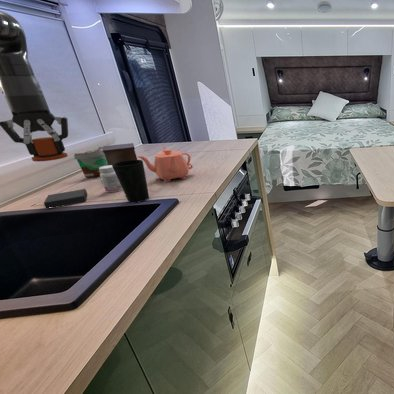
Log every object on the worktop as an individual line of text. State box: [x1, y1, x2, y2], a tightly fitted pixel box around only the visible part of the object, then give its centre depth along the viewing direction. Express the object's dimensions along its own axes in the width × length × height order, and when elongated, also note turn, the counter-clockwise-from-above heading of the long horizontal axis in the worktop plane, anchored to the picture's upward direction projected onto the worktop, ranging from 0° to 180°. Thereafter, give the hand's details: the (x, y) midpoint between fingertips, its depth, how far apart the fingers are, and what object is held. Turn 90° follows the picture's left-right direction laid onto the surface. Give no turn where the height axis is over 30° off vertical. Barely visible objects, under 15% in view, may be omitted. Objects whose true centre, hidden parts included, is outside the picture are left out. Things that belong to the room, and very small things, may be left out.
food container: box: [73, 146, 108, 179], centre depth 115 cm, size 12×6×10 cm, turn 179°
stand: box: [43, 188, 88, 209], centre depth 91 cm, size 9×8×2 cm
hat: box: [31, 136, 69, 163], centre depth 85 cm, size 8×8×6 cm
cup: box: [112, 159, 150, 203], centre depth 90 cm, size 8×8×12 cm
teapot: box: [136, 147, 194, 183], centre depth 111 cm, size 14×14×11 cm
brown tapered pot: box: [102, 142, 138, 165], centre depth 112 cm, size 9×9×12 cm
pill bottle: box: [99, 165, 123, 193], centre depth 99 cm, size 5×5×8 cm
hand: (49, 154), depth 86 cm, fingers closed on hat, 4 cm apart
